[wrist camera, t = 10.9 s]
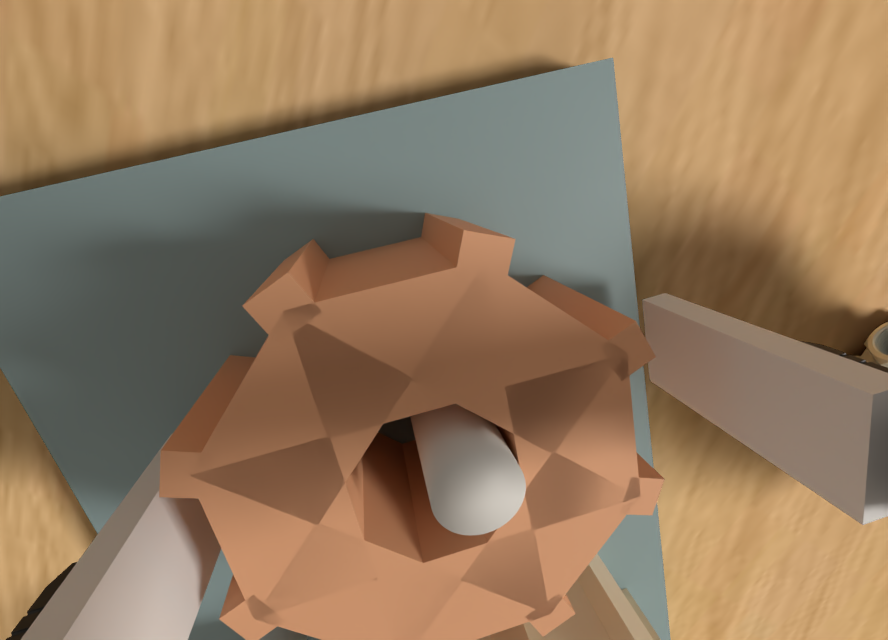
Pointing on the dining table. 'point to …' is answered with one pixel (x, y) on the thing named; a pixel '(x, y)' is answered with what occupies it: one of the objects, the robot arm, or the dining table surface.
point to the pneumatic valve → (877, 346)
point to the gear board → (337, 233)
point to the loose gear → (411, 442)
